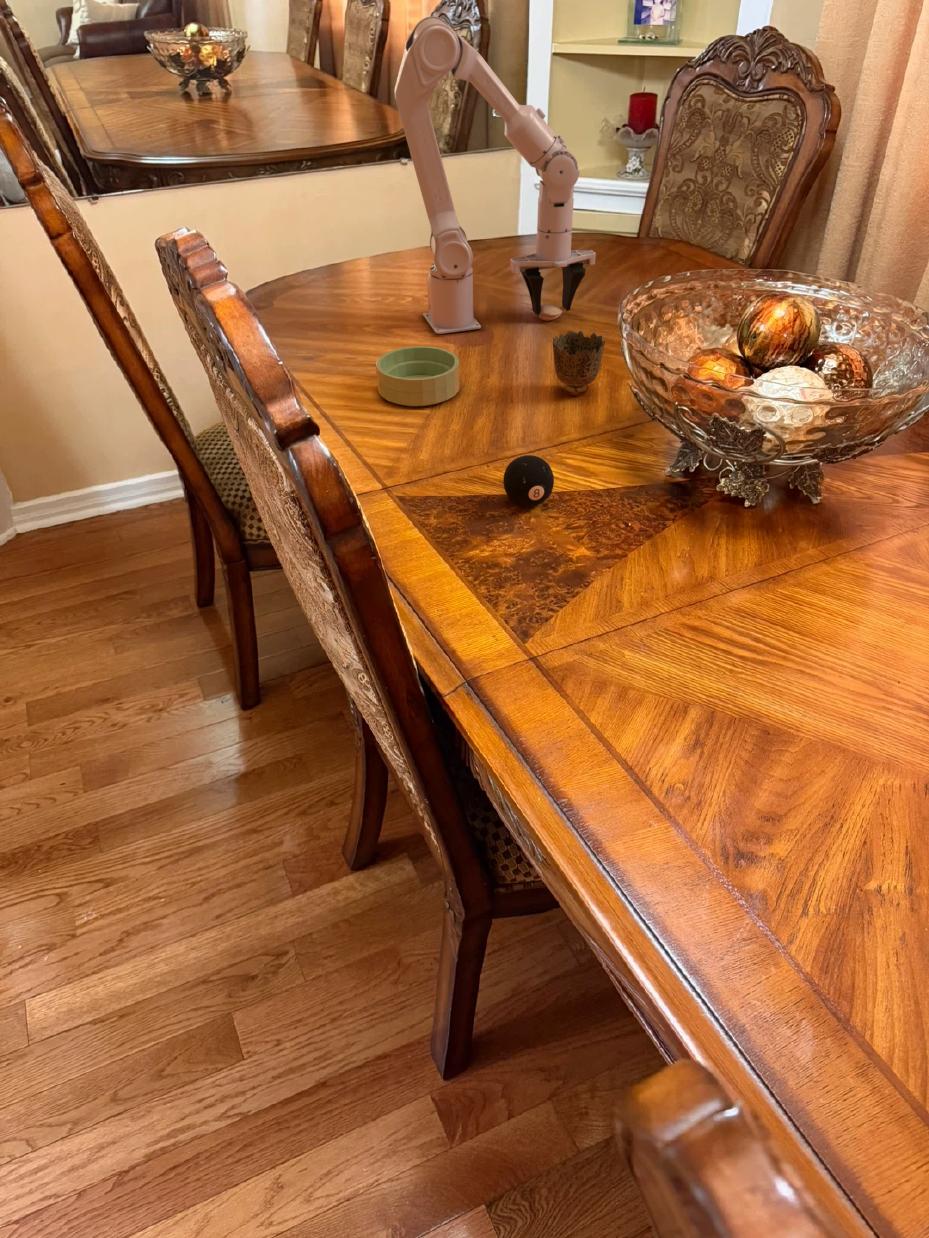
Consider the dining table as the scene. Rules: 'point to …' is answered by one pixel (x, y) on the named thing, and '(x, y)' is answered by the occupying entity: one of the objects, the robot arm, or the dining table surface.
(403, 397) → the bowl
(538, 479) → the billiard ball
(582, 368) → the cup
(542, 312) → the seashell
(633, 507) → the dining table surface
